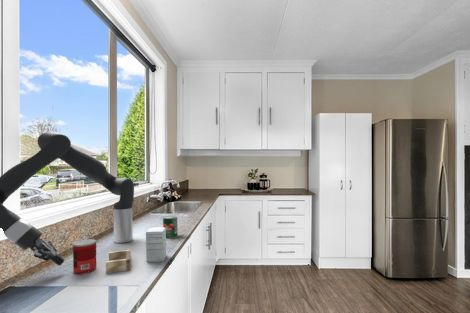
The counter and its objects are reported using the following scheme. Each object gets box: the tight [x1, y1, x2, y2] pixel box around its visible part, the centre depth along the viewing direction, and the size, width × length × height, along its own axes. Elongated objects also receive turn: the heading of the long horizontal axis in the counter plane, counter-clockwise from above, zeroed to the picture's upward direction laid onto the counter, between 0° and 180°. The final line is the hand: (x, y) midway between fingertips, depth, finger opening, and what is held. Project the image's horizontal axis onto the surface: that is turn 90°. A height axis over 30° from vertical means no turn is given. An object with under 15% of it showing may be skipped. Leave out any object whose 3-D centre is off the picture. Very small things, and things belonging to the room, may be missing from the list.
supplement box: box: [145, 226, 167, 263], centre depth 119 cm, size 7×7×13 cm
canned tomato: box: [162, 215, 179, 240], centre depth 154 cm, size 8×8×11 cm
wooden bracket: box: [105, 249, 132, 274], centre depth 112 cm, size 8×13×4 cm, turn 20°
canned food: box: [72, 238, 97, 275], centre depth 108 cm, size 8×8×11 cm
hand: (62, 262), depth 105 cm, fingers closed
